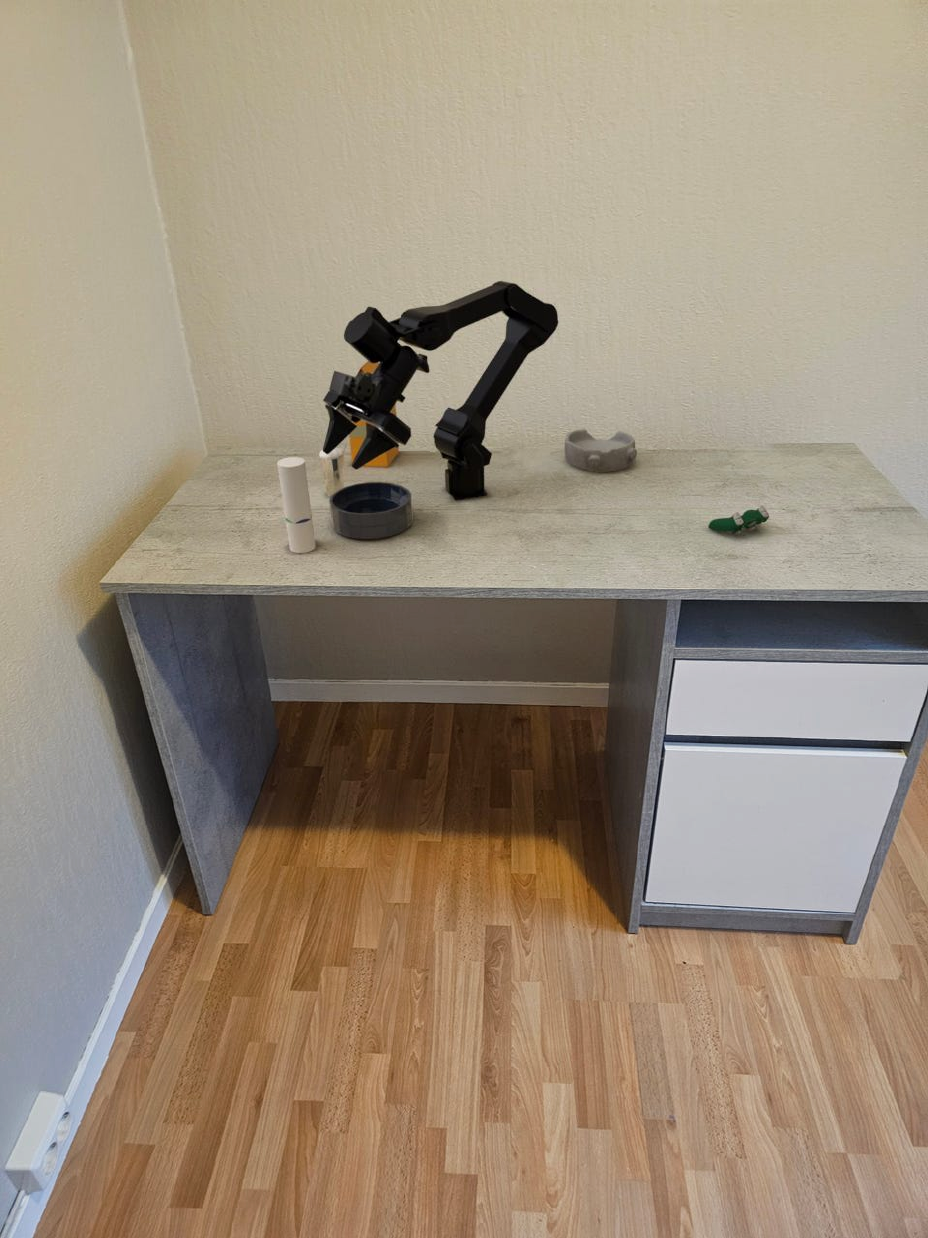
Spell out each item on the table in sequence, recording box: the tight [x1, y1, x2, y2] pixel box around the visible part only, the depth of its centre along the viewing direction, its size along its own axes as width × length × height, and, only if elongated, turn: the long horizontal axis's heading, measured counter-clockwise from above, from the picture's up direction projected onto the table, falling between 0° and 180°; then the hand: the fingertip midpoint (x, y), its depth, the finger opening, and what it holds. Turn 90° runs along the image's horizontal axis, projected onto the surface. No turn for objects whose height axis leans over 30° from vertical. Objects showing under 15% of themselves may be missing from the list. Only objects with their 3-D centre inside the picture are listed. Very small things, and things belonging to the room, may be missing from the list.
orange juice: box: [348, 360, 400, 468], centre depth 169 cm, size 8×9×20 cm
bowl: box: [328, 481, 414, 540], centre depth 145 cm, size 14×14×5 cm
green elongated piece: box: [707, 505, 770, 535], centre depth 140 cm, size 9×4×6 cm
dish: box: [564, 428, 638, 472], centre depth 168 cm, size 14×14×5 cm
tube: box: [276, 456, 317, 554], centre depth 136 cm, size 4×4×15 cm
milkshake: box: [318, 443, 348, 498], centre depth 156 cm, size 4×5×10 cm
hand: (339, 460), depth 137 cm, fingers open, 9 cm apart
